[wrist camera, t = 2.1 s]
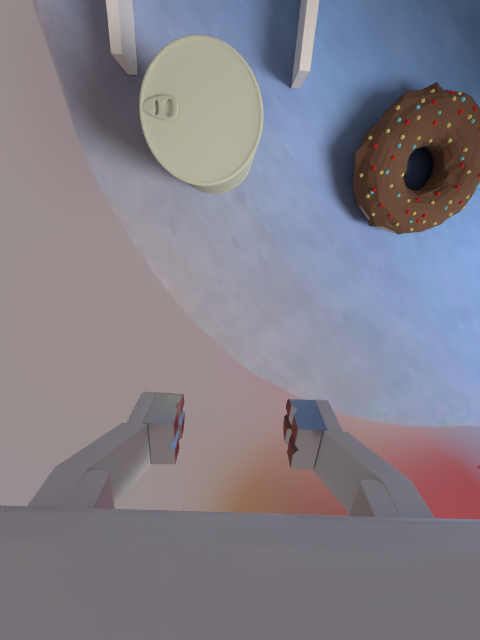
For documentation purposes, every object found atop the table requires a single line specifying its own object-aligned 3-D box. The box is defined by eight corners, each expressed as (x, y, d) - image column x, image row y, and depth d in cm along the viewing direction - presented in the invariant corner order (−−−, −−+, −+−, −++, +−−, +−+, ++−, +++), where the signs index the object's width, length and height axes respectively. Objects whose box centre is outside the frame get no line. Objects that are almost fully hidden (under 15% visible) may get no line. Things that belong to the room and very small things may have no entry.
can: (174, 91, 28) (133, 15, 17) (260, 105, 29) (275, 41, 18) (171, 187, 32) (136, 176, 20) (248, 199, 32) (254, 194, 21)
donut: (489, 120, 30) (535, 103, 25) (426, 243, 35) (455, 248, 30) (371, 79, 28) (398, 53, 23) (324, 214, 33) (338, 215, 28)
